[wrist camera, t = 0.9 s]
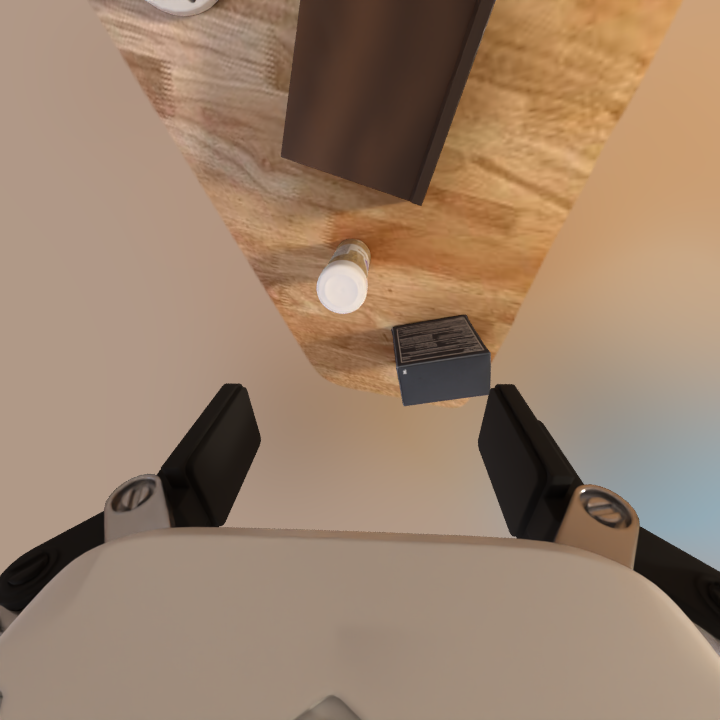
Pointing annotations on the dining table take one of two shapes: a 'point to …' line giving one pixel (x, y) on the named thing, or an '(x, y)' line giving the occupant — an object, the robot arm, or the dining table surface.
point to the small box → (441, 361)
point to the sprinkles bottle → (345, 277)
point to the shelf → (379, 87)
